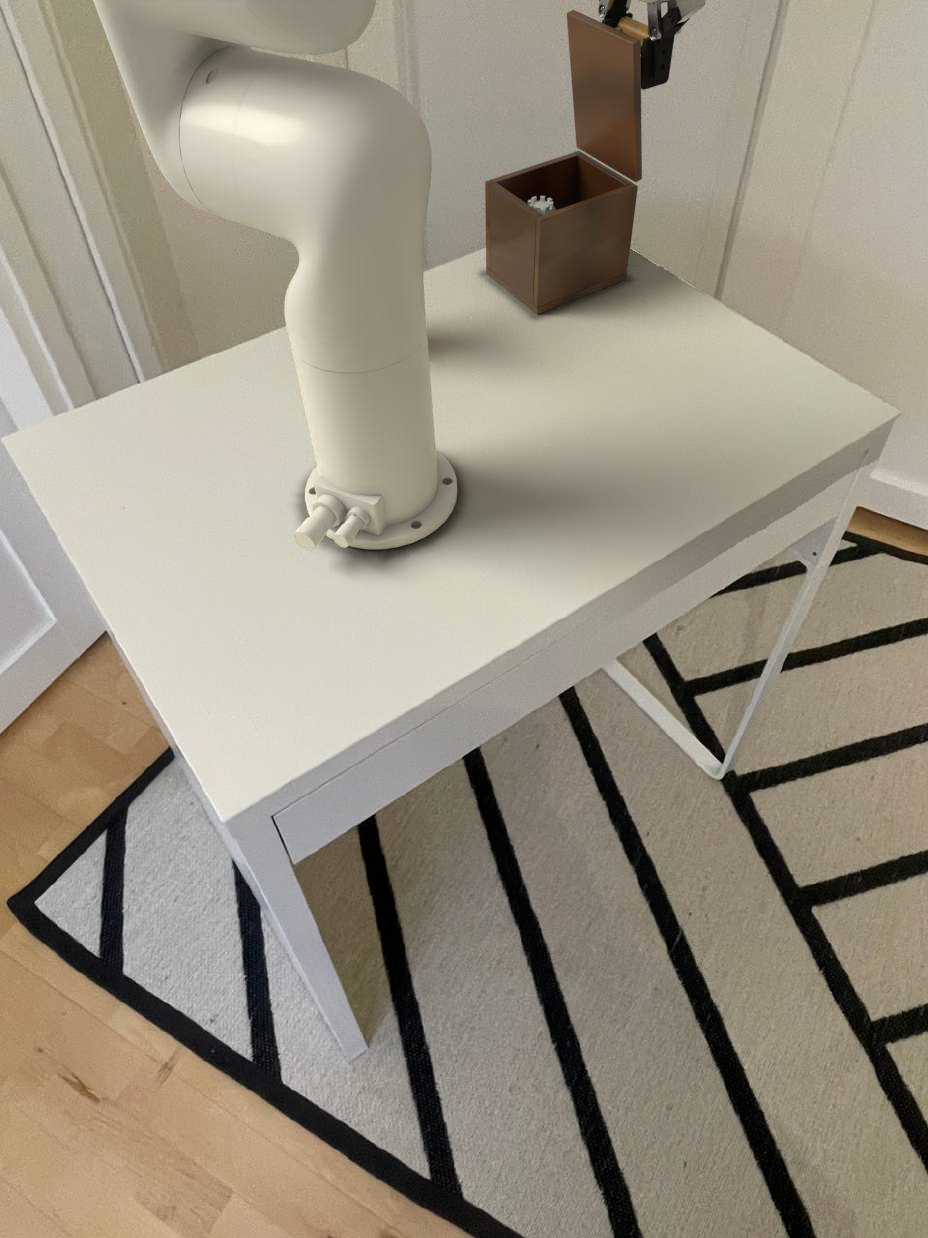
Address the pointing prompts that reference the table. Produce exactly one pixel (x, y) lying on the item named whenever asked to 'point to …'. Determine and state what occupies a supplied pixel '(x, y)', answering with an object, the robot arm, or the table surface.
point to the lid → (608, 90)
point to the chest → (559, 230)
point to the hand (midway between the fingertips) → (632, 72)
